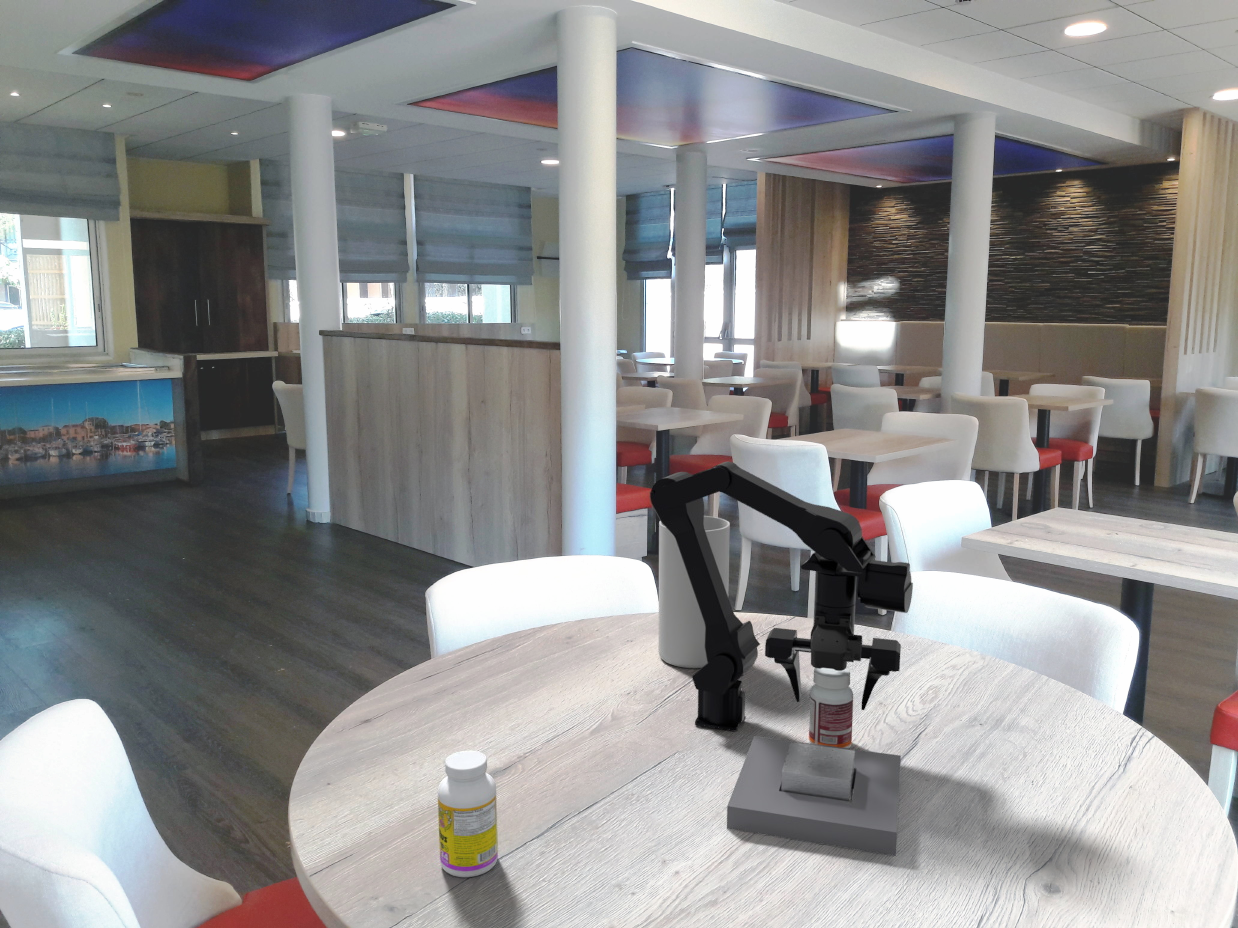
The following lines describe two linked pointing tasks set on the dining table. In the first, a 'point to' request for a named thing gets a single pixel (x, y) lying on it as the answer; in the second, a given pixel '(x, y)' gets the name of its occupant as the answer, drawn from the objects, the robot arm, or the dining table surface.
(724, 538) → the cylinder vase
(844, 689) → the pill bottle
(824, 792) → the plunger pad
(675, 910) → the dining table surface
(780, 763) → the plate
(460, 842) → the supplement bottle
